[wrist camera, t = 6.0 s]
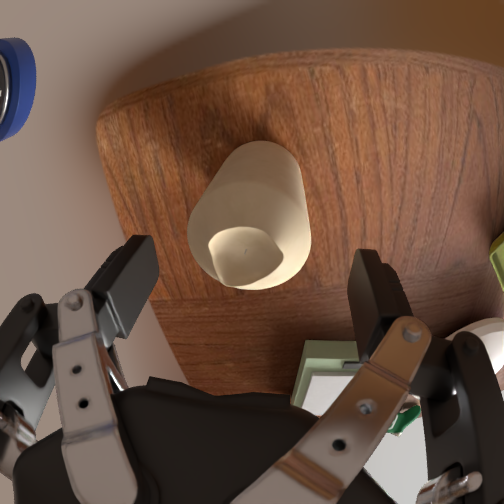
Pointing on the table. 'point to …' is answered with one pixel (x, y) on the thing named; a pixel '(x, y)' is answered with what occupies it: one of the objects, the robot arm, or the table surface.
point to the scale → (324, 373)
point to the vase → (488, 339)
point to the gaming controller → (404, 420)
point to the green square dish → (498, 258)
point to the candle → (252, 219)
